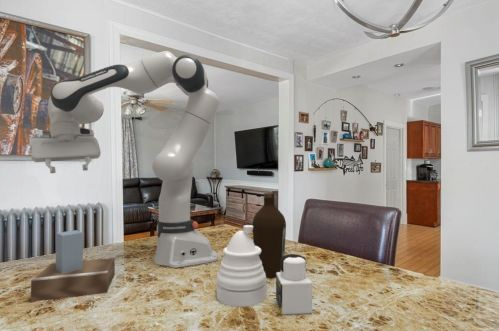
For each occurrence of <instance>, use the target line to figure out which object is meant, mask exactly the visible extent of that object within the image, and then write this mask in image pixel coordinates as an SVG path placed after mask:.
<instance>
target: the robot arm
mask: <svg viewBox="0 0 499 331" xmlns="http://www.w3.org/2000/svg"><path fill="white" fill-rule="evenodd" d="M203 66H204V65H203V63H202V62H201V61H200V60H199V59H198V58H196V56H194V55H190V54H183V55H180V56H178V57H176V55H175V54H173V52H170V51H169V50H163V51H160V52H159V51H158V52H155V53H153V54H150V55H148V56H145V57H143V58H142V59H139V60H137V61H133V62H132V63H126V64H114V65H110V66H107V67H103V68H101V69H99V70H95V71H93V72H90V73H88V74H84V75H81V76H79V77H74V78H68V79H63V80H60V81H58V82H57V83H55V84H54V85H53V87H52V88H51V90H50V96H49V99H48V102H47V112H48V113H47V114H48V119H49V120H50V124H49V132H50V133H49V134H43V135H42V134H41V135H40V134H39V135H34V136H31V137H30V138H29V141H28V142H29V147H30V148H31V153H30V154H31V155H30V156H31V160H32V161H33V162H35V163H45V165H46V167H48V168H49V172H50V173H49V174H55V173H56V167H55V166H52V165H51V162H60V161H61V162H62V161H63V162H64V161H76V160H78V161H79V160H84V161H85V163H84V164H82V171H84V172H85V171H89V170H88V169H89V167H88V166H89V164H90V162H91V160H93V159H94V160H97V159H99V158H100V157H101V152H102V151H101V147H100V144H99V141H98V140H97V138H96V137H95V131H94V130H93V129H90V128H86V127H82V126H80V125H85V124H92V123H96V122H97V121H99V120H100V119H101V117H102V116H103V115H104V104H103V103H102V101H100V100H99V99H98V98H96V97H95V96H94V95H92V94H94V93H98V92H99V91H103V90H105V89H107V88H108V89H109V88H122V89H124V90H128V91H130V92H132V93H135V94H139V95H145V94H149V93H152V92H154V91H156V90H158V89H160V88H161V87H163V86H165V85H167V84H170V83H172V84H175V85H176V86H177V87H178V88H179V89H180V91H182V92H183V93H184V94H185V95H186V96H187V97H188V100H187V103H186V105H185V107H184V110H183V112H182V114H181V116H180V118H179V120H178V122H177V124H176V126H175V129H174V130H173V132H172V134H171V135H170V137H169V138H168V139H167V140H166V142H165V144H164V145H163V147H162V148H161V150H160V152H158V154H157V155H156V156H155V157H154V159H153V161H152V171H153V173H154V175H155V176H156V177H157V178H158V179H159V180H160V181H162V183H161V190H160V194H159V197H158V220H157V224H156V236H157V243H156V251H155V255H154V258H153V262H154V264H156V265H159V266H160V265H161V266H163V267H164V266H166V267H170V268H174V269H176V268H183V267H188V266H193V265H194V266H195V265H200V264H207V263H212V262H216V261H217V260H218V252H216V251H215V250H214V249H212V246H211V242H210V240H209V238H207V237H206V236H205V235H204V234H202V232H200V231H199V230H197V228H198V227H199V223H198V222H197V221H196V220H193V219H191V195H192V186H193V176H194V175H193V174H194V163H193V160H194V158H195V157H196V155H197V153H198V151H199V150H200V148H201V147H202V146H203V145H204V142H205V140H206V138H207V135H208V133H209V131H210V129H211V127H212V125H213V123H214V120H215V117H216V115H217V112H218V108H219V104H220V99H219V97H218V95H217V93H215V92H214V91H213V90H211V89H209V88H208V87H209V80H208V76H207V72H206V69H205V67H203Z"/></svg>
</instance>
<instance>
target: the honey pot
mask: <svg viewBox="0 0 499 331" xmlns="http://www.w3.org/2000/svg"><path fill="white" fill-rule="evenodd" d="M242 228H243V230H238V231H237V232H236V233H235V232H234V234H233V236H232V237H231V239H230V240H229V243H228V245H227V246H226V247H224V248H223V251H222V253H223V257H222V259H221V261H220V265H219V268H218V269H219V270H218V272H217V273H216V298H217V301H218V302H220V303H222V304H224V305H226V306H229V307H237V308H240V307H241V308H245V307H251V306H255V305H256V306H257V305H258V304H260V303H262V302H263V301H264V300H265V299H266V298H267V282H266V281H267V277H266V274H265V272H264V269H263V266H262V261H261V260H260V258H259V254H260V253H261V248H259V247H258V246H255V245H254V243H253V238H252V237H251V236H250V235H249V234H251V233H253V226H252V225H251V224H250V225H249V224H246V225H243V227H242Z"/></svg>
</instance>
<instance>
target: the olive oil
mask: <svg viewBox="0 0 499 331" xmlns="http://www.w3.org/2000/svg"><path fill="white" fill-rule="evenodd" d="M263 193H264V194H263V195H264V197H263V205H262V207H261V208H260V209H259V210H258V211H257V212H256V213H255V214H254V216H253V219H252V226H253V230H252V241H253V243H254V245H255V246H258V247H259V248H261V253H260V254H259V258H260V260H261V261H262V266H263V269H264V272H265V274H266V278H276V273H277V272H281V257H282V256H284V255H286V253H285V252H286V250H285V249H286V237H287V236H286V235H287V222H286V219H285V216H284V214H283V213H282V212H281V211H280V210H279V209H278V208H277V206H276V205H275V193H274V192H263Z"/></svg>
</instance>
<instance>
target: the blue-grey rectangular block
mask: <svg viewBox="0 0 499 331" xmlns="http://www.w3.org/2000/svg"><path fill="white" fill-rule="evenodd" d="M55 235H56V236H55V237H56V238H55V243H56V244H55V252H56V253H55V263H56V270H58V271H59V272H60V273H62V274H63V273H67V272H71V271H75V270H79V269H83V261H84V254H83V253H84V232H82V231H80V230H77V229H75V230H67V231H60V232H56V234H55Z"/></svg>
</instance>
